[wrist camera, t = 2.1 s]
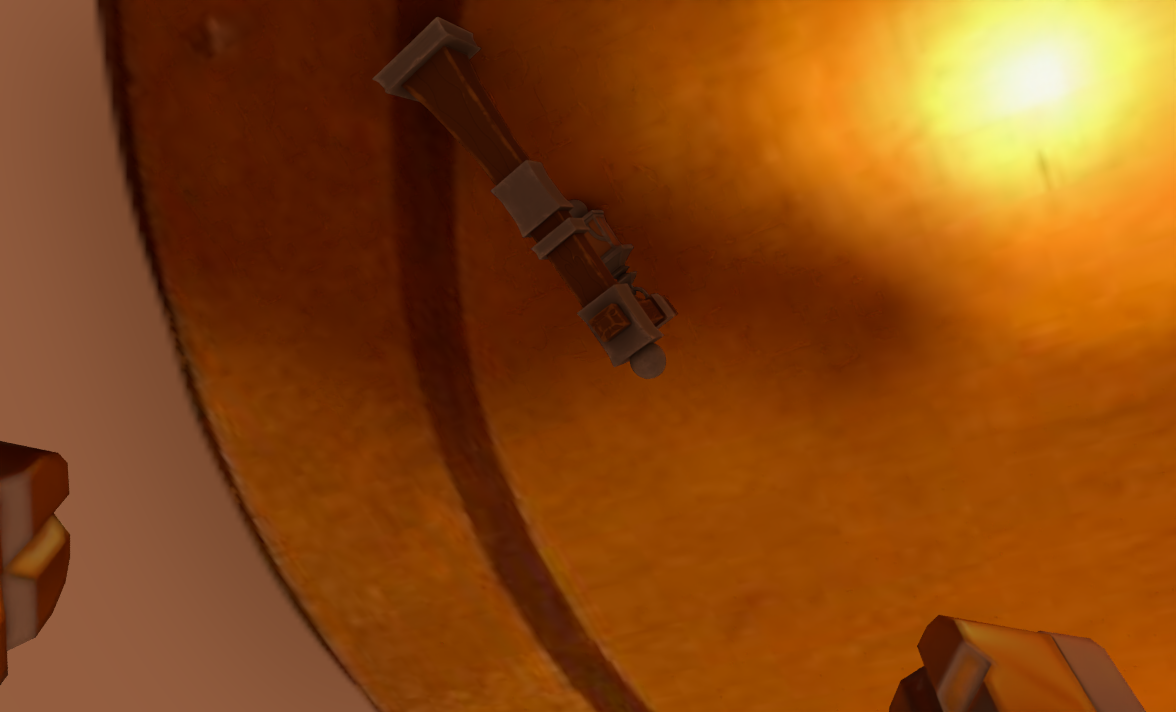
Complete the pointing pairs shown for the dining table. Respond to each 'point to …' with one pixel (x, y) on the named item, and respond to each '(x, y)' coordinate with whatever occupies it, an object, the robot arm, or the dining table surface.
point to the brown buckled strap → (534, 197)
